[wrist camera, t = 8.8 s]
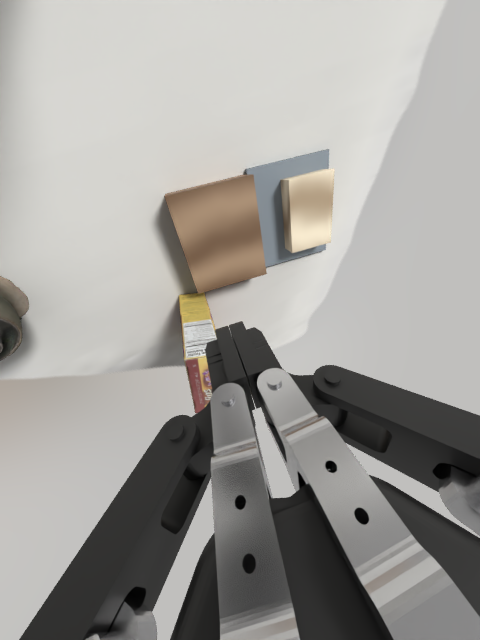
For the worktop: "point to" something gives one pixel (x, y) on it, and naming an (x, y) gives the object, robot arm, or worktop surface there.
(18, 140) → the worktop surface
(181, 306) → the candy box
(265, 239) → the mat
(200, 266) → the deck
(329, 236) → the tile
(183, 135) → the worktop surface
